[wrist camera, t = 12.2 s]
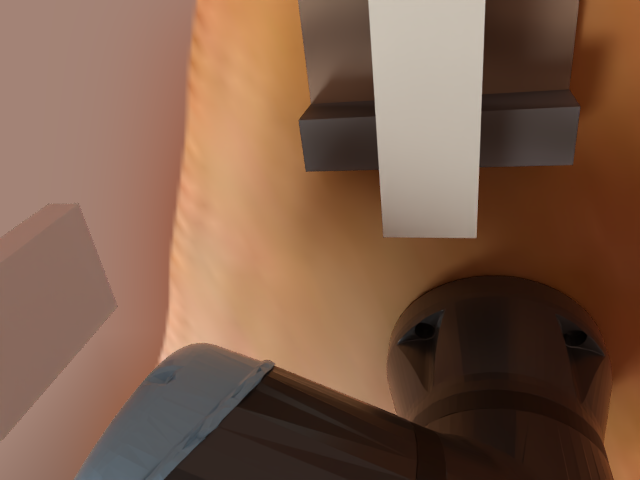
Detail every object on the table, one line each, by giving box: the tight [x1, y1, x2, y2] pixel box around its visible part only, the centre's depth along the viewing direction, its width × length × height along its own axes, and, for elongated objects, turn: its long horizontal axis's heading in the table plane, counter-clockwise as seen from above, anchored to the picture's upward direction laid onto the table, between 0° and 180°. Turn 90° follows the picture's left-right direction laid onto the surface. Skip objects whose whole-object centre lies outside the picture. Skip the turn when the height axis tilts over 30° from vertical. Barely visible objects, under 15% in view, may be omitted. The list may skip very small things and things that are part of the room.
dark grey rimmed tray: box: [298, 0, 580, 172], centre depth 27 cm, size 12×14×4 cm
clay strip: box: [368, 0, 485, 238], centre depth 24 cm, size 16×4×4 cm, turn 7°
